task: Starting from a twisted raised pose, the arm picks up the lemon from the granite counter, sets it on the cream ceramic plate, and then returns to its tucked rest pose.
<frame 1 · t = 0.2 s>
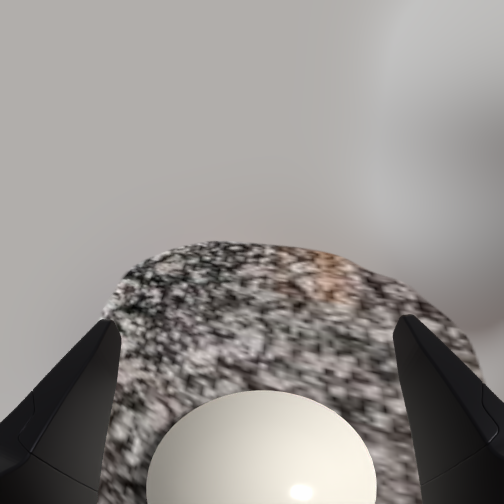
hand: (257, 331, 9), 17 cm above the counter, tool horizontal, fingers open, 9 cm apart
plate: (261, 489, 18), on the counter
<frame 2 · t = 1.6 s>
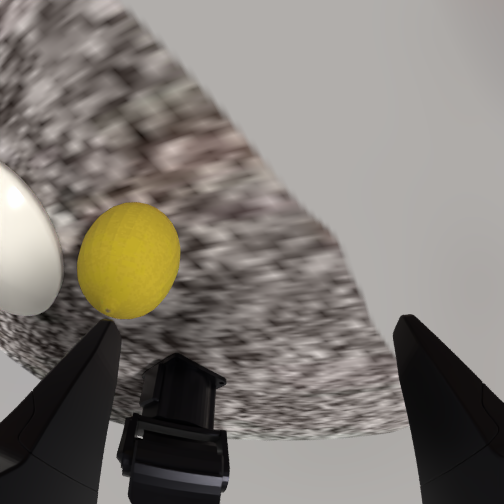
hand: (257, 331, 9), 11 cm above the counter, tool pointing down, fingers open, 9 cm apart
lemon: (148, 217, 20), on the counter
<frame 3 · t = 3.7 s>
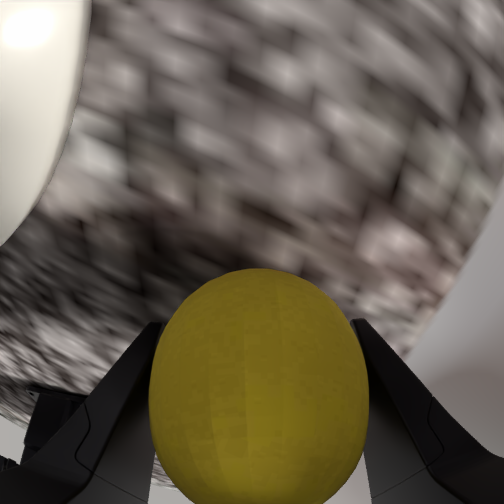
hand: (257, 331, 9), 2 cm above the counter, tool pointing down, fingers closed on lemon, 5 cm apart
lemon: (256, 280, 11), on the counter, touching gripper
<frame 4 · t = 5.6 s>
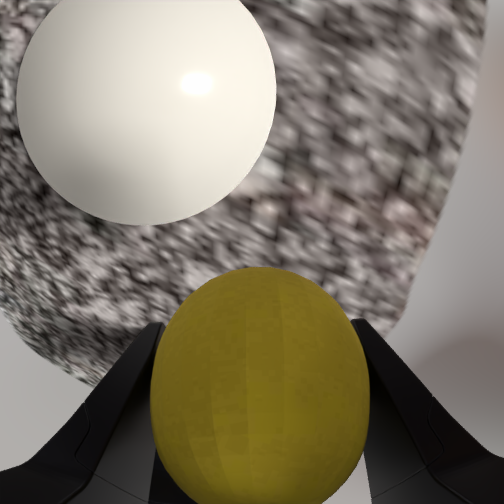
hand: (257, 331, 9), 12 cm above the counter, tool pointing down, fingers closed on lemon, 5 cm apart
lemon: (258, 279, 11), point 10 cm above the counter, touching gripper
plate: (133, 97, 16), on the counter
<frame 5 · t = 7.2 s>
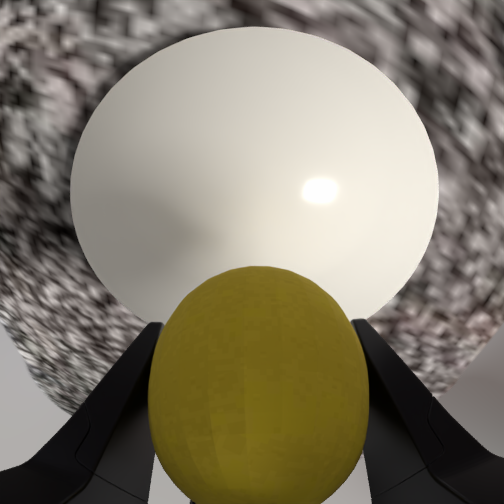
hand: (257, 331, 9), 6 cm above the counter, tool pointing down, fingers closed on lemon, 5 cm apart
lemon: (257, 278, 11), point 4 cm above the counter, touching gripper
plate: (255, 220, 14), on the counter
when the fingers open (4 cm above the counter, at t = 8.0 s): lemon stays where it is, resting on plate.
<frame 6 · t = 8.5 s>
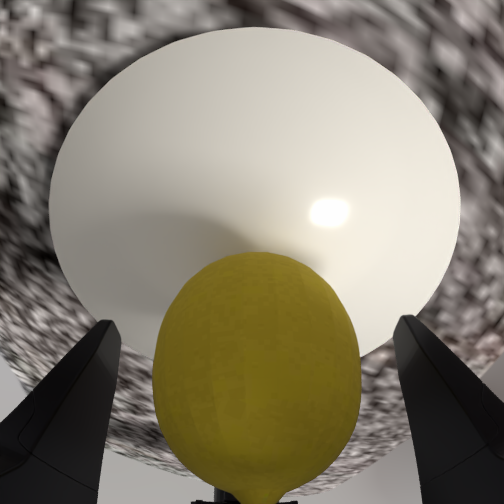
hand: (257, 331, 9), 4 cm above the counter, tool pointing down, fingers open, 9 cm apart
lemon: (255, 267, 12), point 1 cm above the counter, touching plate
plate: (255, 249, 13), on the counter
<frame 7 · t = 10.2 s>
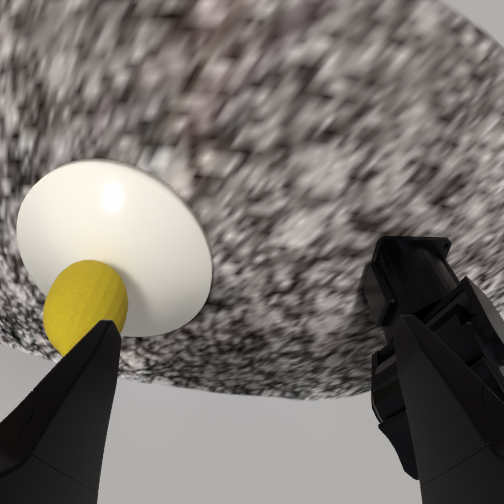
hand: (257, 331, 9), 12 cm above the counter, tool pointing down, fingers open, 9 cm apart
lemon: (105, 266, 22), point 1 cm above the counter, touching plate
plate: (109, 257, 23), on the counter
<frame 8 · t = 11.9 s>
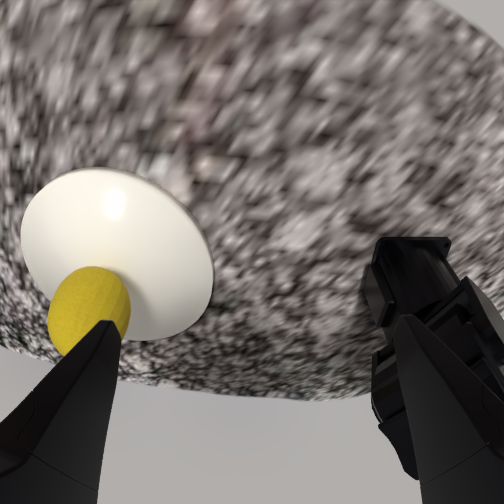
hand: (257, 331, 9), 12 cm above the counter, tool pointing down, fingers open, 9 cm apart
lemon: (108, 272, 22), point 1 cm above the counter, touching plate
plate: (112, 263, 23), on the counter
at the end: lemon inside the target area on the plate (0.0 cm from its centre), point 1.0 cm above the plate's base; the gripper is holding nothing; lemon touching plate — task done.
